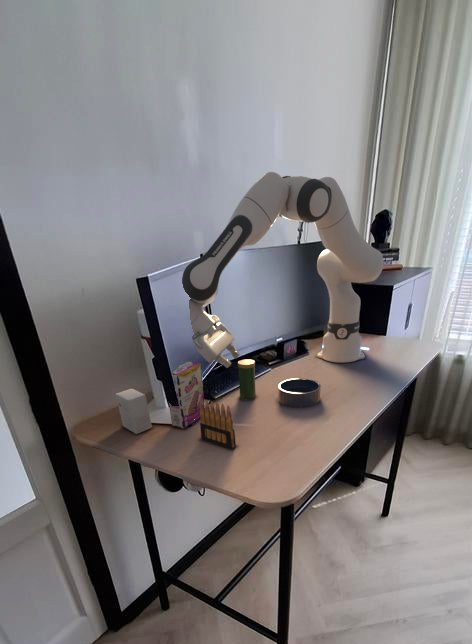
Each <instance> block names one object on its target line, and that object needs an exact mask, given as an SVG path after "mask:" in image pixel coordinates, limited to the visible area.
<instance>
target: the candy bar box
mask: <svg viewBox="0 0 472 644" xmlns="http://www.w3.org/2000/svg"><path fill="white" fill-rule="evenodd" d="M178 366H179V367H178V368H177V369H176V370H175V371H174V372H173V379H174V385H175V391H176V394H177V396H178V399H179V406H172V405H171V404H170V403H169V402H168V406H169V413H170V420H171V426H172V427H174V428H179V429H182V430H185V429H186V428H188V427H190V426H191V425H193V424H194V423H196V422H197V421H198V420H201V418H200V400H201V398H202V400H203V402H204V406H205V394H204V382H203V373H202V363H201V362H195V361H186V362H184V363H181V364H180V365H178ZM194 419H195V420H194Z"/></svg>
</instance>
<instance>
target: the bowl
mask: <svg viewBox="0 0 472 644" xmlns="http://www.w3.org/2000/svg"><path fill="white" fill-rule="evenodd" d="M277 389H278V390H277V392H278V393H277V401H278V402H279V403H280V405H282V406H286V407H289V408H297V409H300V408H302V409H303V408H309V407H312V406H315V405H317V404H319V403H320V400H321V389H322V384H321V383H320V382H319V381H317V380H314V379H312V378H311V379H310V378H301V377H300V378H299V377H298V378H297V377H296V378H289V379H285V380H283V381H281V382H280V383H278V386H277Z"/></svg>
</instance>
